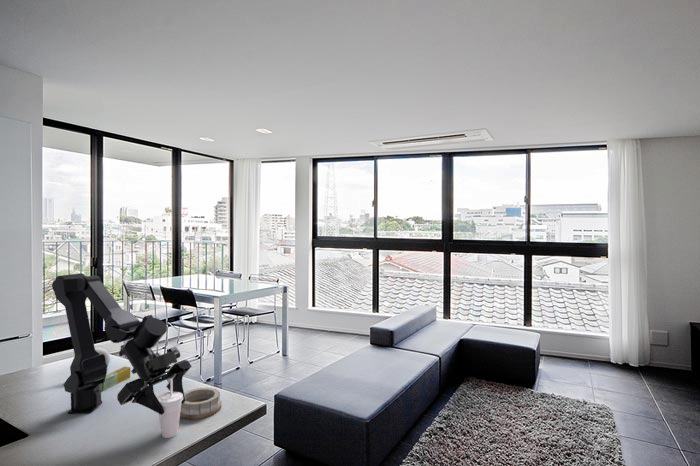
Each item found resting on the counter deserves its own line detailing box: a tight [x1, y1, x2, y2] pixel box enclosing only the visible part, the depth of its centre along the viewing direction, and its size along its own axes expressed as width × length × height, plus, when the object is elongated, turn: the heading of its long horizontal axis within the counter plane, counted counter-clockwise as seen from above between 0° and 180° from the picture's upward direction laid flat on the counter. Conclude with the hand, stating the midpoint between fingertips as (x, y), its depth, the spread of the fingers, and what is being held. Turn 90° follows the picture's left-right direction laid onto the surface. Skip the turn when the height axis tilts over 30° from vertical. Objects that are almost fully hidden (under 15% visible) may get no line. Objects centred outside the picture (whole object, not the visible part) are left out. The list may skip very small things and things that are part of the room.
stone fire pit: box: [180, 387, 222, 421], centre depth 115 cm, size 12×12×4 cm
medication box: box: [99, 366, 131, 393], centre depth 132 cm, size 12×3×4 cm, turn 167°
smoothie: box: [156, 379, 183, 439], centre depth 101 cm, size 6×6×14 cm
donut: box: [95, 347, 111, 366], centre depth 139 cm, size 10×4×10 cm, turn 140°
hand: (173, 407), depth 101 cm, fingers closed on smoothie, 6 cm apart
